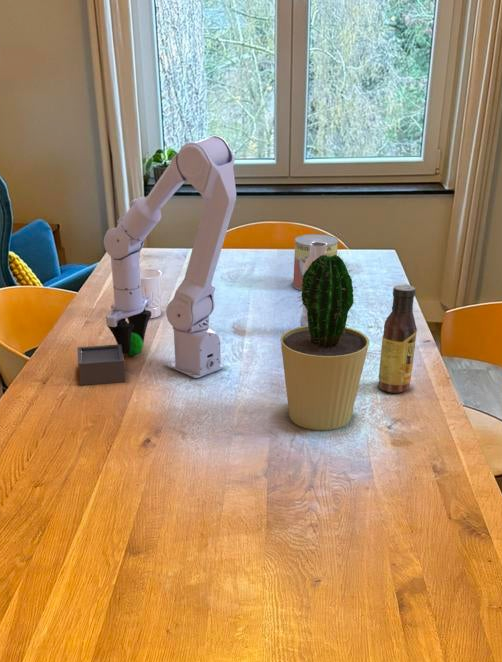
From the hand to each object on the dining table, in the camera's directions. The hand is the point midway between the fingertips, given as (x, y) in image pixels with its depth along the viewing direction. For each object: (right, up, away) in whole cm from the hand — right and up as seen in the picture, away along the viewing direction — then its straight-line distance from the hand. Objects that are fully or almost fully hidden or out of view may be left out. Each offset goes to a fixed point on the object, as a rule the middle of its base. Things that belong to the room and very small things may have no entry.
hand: (131, 348), depth 172 cm
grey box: (-5, -7, -8) cm, 12 cm away
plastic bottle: (+41, +6, +11) cm, 42 cm away
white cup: (+1, +13, +23) cm, 26 cm away
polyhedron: (0, -1, +1) cm, 2 cm away
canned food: (+44, +25, +41) cm, 65 cm away
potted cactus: (+38, -18, -25) cm, 49 cm away
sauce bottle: (+53, -11, -15) cm, 56 cm away
